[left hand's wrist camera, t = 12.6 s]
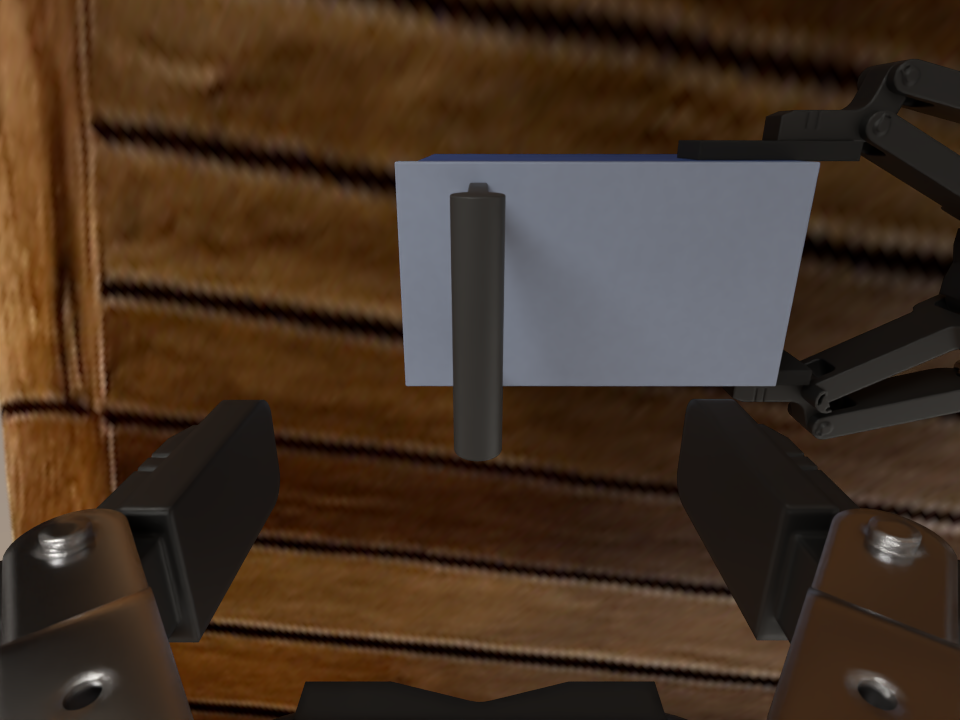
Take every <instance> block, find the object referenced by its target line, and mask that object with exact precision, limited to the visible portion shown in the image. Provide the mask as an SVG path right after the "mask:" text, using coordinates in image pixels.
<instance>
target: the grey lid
mask: <svg viewBox="0 0 960 720" xmlns="http://www.w3.org/2000/svg"><path fill="white" fill-rule="evenodd" d="M819 167H820V162H810V161H398V162H395V178H396V198H397V218H398V238H399V258H400V278H401V298H402V319H403V339H404V359H405V379H406V386H453V407H454V450H455V452H456V454H457V455H458V456H459V457H461V458H463V459H466V460H471V461H485V460H490V459H493V458H495V457H496V456H498V455H499V454H500V452H501V450H502V399H503V386H776V382H777V377H778V372H779V367H780V362H781V357H782V352H783V347H784V342H785V337H786V332H787V327H788V322H789V317H790V312H791V307H792V302H793V297H794V292H795V287H796V282H797V277H798V272H799V267H800V262H801V257H802V252H803V247H804V242H805V237H806V232H807V227H808V222H809V217H810V212H811V207H812V202H813V197H814V192H815V187H816V182H817V177H818V172H819Z"/></svg>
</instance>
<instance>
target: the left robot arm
mask: <svg viewBox="0 0 960 720" xmlns="http://www.w3.org/2000/svg"><path fill="white" fill-rule="evenodd" d="M677 485H678V492H679V497H680V500H681V503H682V505H683V507H684V509H685V510H686V512H687V514H688V516H689V518H690V519H691V521H692V523H693V525H694V527H695V529H696V530H697V532H698V534H699V536H700V538H701V539H702V541H703V543H704V545H705V547H706V549H707V550H708V552H709V554H710V556H711V558H712V559H713V561H714V563H715V565H716V567H717V569H718V570H719V572H720V574H721V576H722V578H723V579H724V581H725V583H726V585H727V587H728V589H729V590H730V592H731V594H732V596H733V598H734V599H735V601H736V603H737V605H738V607H739V609H740V610H741V612H742V614H743V616H744V618H745V619H746V621H747V623H748V625H749V627H750V629H751V630H752V632H753V634H754V636H755V638H756V639H757V640H788V641H789V642H790V644H791V645H790V648H789V651H788V654H787V657H786V660H785V663H784V666H783V670H782V673H781V676H780V679H779V682H778V685H777V688H776V691H775V695H774V698H773V701H772V704H771V707H770V710H769V713H768V716H767V720H960V560H957V556H956V554H955V552H954V550H953V549H952V548H951V546H950V545H949V544H948V543H947V542H946V541H945V540H944V539H942V538H941V537H940V536H938V535H937V534H936V533H934V532H933V531H931V530H929V529H928V528H926V527H924V526H922V525H920V524H918V523H916V522H914V521H912V520H909V519H907V518H904V517H901V516H898V515H896V514H892V513H888V512H884V511H879V510H873V509H860V508H859V507H858V506H857V505H856V504H855V503H854V502H853V501H852V500H851V499H850V498H849V497H848V496H847V495H846V494H845V493H844V492H843V491H842V490H841V489H840V488H839V487H838V486H837V485H836V484H835V483H834V482H833V481H832V480H831V479H830V478H828V477H827V476H826V475H825V474H824V473H823V472H822V471H821V470H818V469H817V466H816V465H815V464H814V463H813V462H812V461H811V460H810V459H809V458H808V457H804V453H803V452H802V451H801V450H800V449H799V448H798V447H797V446H796V445H795V444H794V443H793V442H792V441H791V440H790V439H789V438H787V437H786V436H784V435H782V434H780V433H778V432H776V431H774V430H773V429H771V428H769V427H767V426H765V425H763V424H757V423H756V422H755V420H754V419H753V418H752V417H751V416H750V415H749V414H748V413H747V412H746V411H745V410H744V409H743V408H742V407H741V406H740V405H739V404H738V403H737V402H736V401H735V400H733V399H692V400H691V401H690V402H689V404H688V406H687V409H686V414H685V421H684V428H683V435H682V442H681V449H680V456H679V463H678V471H677ZM279 486H280V472H279V465H278V458H277V451H276V444H275V437H274V430H273V423H272V416H271V411H270V407H269V405H268V403H267V402H266V401H265V400H223V401H221V402H220V403H219V404H218V405H217V406H216V407H215V408H214V409H213V410H212V411H211V412H210V413H209V414H208V416H207V417H206V418H205V419H204V420H203V421H202V422H201V423H200V424H199V425H193V426H191V427H189V428H187V429H185V430H184V431H182V432H180V433H178V434H176V435H174V436H173V437H171V438H169V439H168V440H167V441H166V442H164V443H163V444H162V445H161V446H160V447H159V448H158V449H157V450H156V451H155V452H154V453H153V454H152V458H148V459H147V460H146V461H145V462H144V463H143V464H142V465H141V466H140V467H139V468H138V471H135V472H134V473H132V474H131V475H130V476H129V477H128V478H127V479H126V480H125V481H124V482H123V483H122V484H121V485H120V486H119V487H118V488H117V489H116V490H115V491H114V492H113V493H112V494H111V495H110V496H109V497H108V498H107V499H106V500H105V501H104V502H103V503H102V504H100V505H99V506H98V507H97V508H96V509H87V510H81V511H76V512H72V513H68V514H64V515H62V516H59V517H56V518H53V519H51V520H48V521H46V522H44V523H42V524H40V525H38V526H36V527H34V528H32V529H31V530H29V531H27V532H26V533H24V534H23V535H22V536H20V537H19V538H18V539H16V540H15V541H14V542H13V543H12V544H11V545H10V546H9V548H8V549H7V550H6V552H5V554H4V556H3V560H2V561H0V720H193V716H192V713H191V710H190V707H189V704H188V701H187V698H186V695H185V691H184V688H183V685H182V682H181V679H180V676H179V673H178V670H177V666H176V663H175V660H174V657H173V654H172V651H171V648H170V645H169V642H199V641H200V639H201V637H202V635H203V633H204V632H205V630H206V628H207V626H208V624H209V623H210V621H211V619H212V617H213V615H214V614H215V612H216V610H217V608H218V606H219V605H220V603H221V601H222V599H223V597H224V596H225V594H226V592H227V590H228V588H229V587H230V585H231V583H232V581H233V579H234V578H235V576H236V574H237V572H238V571H239V569H240V567H241V565H242V563H243V562H244V560H245V558H246V556H247V554H248V553H249V551H250V549H251V547H252V545H253V544H254V542H255V540H256V538H257V536H258V535H259V533H260V531H261V529H262V527H263V526H264V524H265V522H266V520H267V518H268V517H269V515H270V513H271V511H272V509H273V508H274V506H275V504H276V501H277V498H278V493H279ZM274 720H686V719H684V718H681V717H678V716H675V715H671V714H667V713H664V710H663V707H662V704H661V701H660V698H659V694H658V691H657V688H656V685H655V682H565V683H561V684H557V685H553V686H549V687H545V688H541V689H537V690H532V691H528V692H524V693H520V694H516V695H512V696H508V697H504V698H500V699H496V700H492V701H486V702H474V701H468V700H464V699H460V698H456V697H452V696H448V695H444V694H440V693H436V692H432V691H428V690H423V689H419V688H415V687H411V686H407V685H403V684H399V683H395V682H305V685H304V688H303V691H302V694H301V698H300V701H299V704H298V707H297V710H296V713H293V714H289V715H285V716H282V717H279V718H276V719H274Z"/></svg>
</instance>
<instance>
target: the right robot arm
mask: <svg viewBox="0 0 960 720" xmlns="http://www.w3.org/2000/svg"><path fill="white" fill-rule="evenodd" d="M857 89H858V92H857V94H856V95H855V97H854V99H853V100H852V102H851V103H850V104H849V105H848V106H847V107H845V108H844V109H842V110H791V111H779V112H776V113H774V114H771V115H769V116H766V120H765V126H764V133H763V139H762V141H747V140H679V144H678V153H677V158H682V159H691V160H797V161H859V160H860V155H861V156H863V157H865V158H866V159H868V160H869V161H871V162H873V163H874V164H876V165H877V166H879V167H881V168H882V169H884V170H885V171H887V172H889V173H890V174H892V175H894V176H895V177H897V178H898V179H900V180H902V181H903V182H905V183H906V184H908V185H910V186H911V187H913V188H914V189H916V190H918V191H919V192H921V193H922V194H924V195H926V196H927V197H929V198H930V199H932V200H934V201H935V202H937V203H938V204H940V205H941V206H942V207H941V208H942V210H944V211H945V212H947V213H948V214H950V215H952V216H953V217H955V218H957V219H958V220H960V155H958V154H956V153H955V152H953V151H952V150H950V149H949V148H947V147H946V146H944V145H943V144H941V143H939V142H938V141H936V140H935V139H933V138H932V137H930V136H929V135H927V134H926V133H924V132H922V131H921V130H919V129H918V128H916V127H915V126H913V125H912V124H910V123H908V122H907V121H905V120H904V119H902V118H901V117H899V116H898V115H897V113H898V111H899V109H900V108H901V107H903V108H907V109H910V110H914V111H917V112H921V113H925V114H928V115H932V116H935V117H939V118H942V119H946V120H949V121H953V122H956V123H960V71H957V70H953V69H950V68H947V67H943V66H940V65H936V64H933V63H929V62H926V61H922V60H919V59H909V60H904V61H898V62H893V63H887V64H881V65H876V66H871V67H869V68H866V69H865V70H864V71H863V72H862V73H861V75H860V76H859V78H858V82H857ZM957 349H960V228H958V231H957V234H956V238H955V241H954V245H953V262H952V264H951V266H950V268H949V270H948V271H947V273H946V275H945V277H944V279H943V282H942V286H941V289H940V293H939V295H937V296H934V297H932V298H930V299H928V300H925V301H923V302H921V303H918V304H917V305H915V306H914V307H913V311H912V312H911V313H909V314H907V315H905V316H902V317H900V318H898V319H895V320H893V321H891V322H889V323H886V324H884V325H882V326H879V327H877V328H875V329H873V330H870V331H868V332H866V333H863V334H861V335H859V336H856V337H854V338H852V339H850V340H847V341H845V342H843V343H840V344H838V345H836V346H834V347H831V348H829V349H827V350H824V351H822V352H820V353H818V354H815V355H813V356H811V357H808V358H806V359H804V360H802V361H799V360H797V359H796V358H794V357H793V356H792V355H790V354H789V353H787V352H786V351H784V350H783V352H782V357H781V362H780V367H779V372H778V377H777V382H776V386H722V387H723V388H724V389H725V390H726V391H727V392H728V393H729V395H730V396H731V397H732V398H734V399H737V400H739V401H742V402H754V401H755V402H762V401H764V402H790V403H789V405H788V412H789V414H790V415H791V416H792V417H793V418H795V419H796V420H797V421H798V422H799V423H800V424H801V425H802V426H803V427H804V428H806V429H807V430H808V431H809V432H810V433H811V434H812V435H814V436H815V437H816V438H818V439H829V438H834V437H839V436H844V435H849V434H853V433H858V432H863V431H868V430H873V429H878V428H883V427H888V426H893V425H898V424H903V423H908V422H913V421H918V420H922V419H927V418H932V417H937V416H942V415H947V414H952V413H957V412H960V360H959V361H957V362H956V363H955V364H954V368H935V369H929V370H923V371H919V372H914V373H909V374H904V375H900V376H895V377H891V376H893V375H895V374H898V373H900V372H903V371H905V370H907V369H910V368H912V367H914V366H917V365H919V364H921V363H924V362H926V361H929V360H931V359H933V358H936V357H938V356H940V355H943V354H945V353H948V352H950V351H953V350H957ZM888 377H890V378H888Z"/></svg>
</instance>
